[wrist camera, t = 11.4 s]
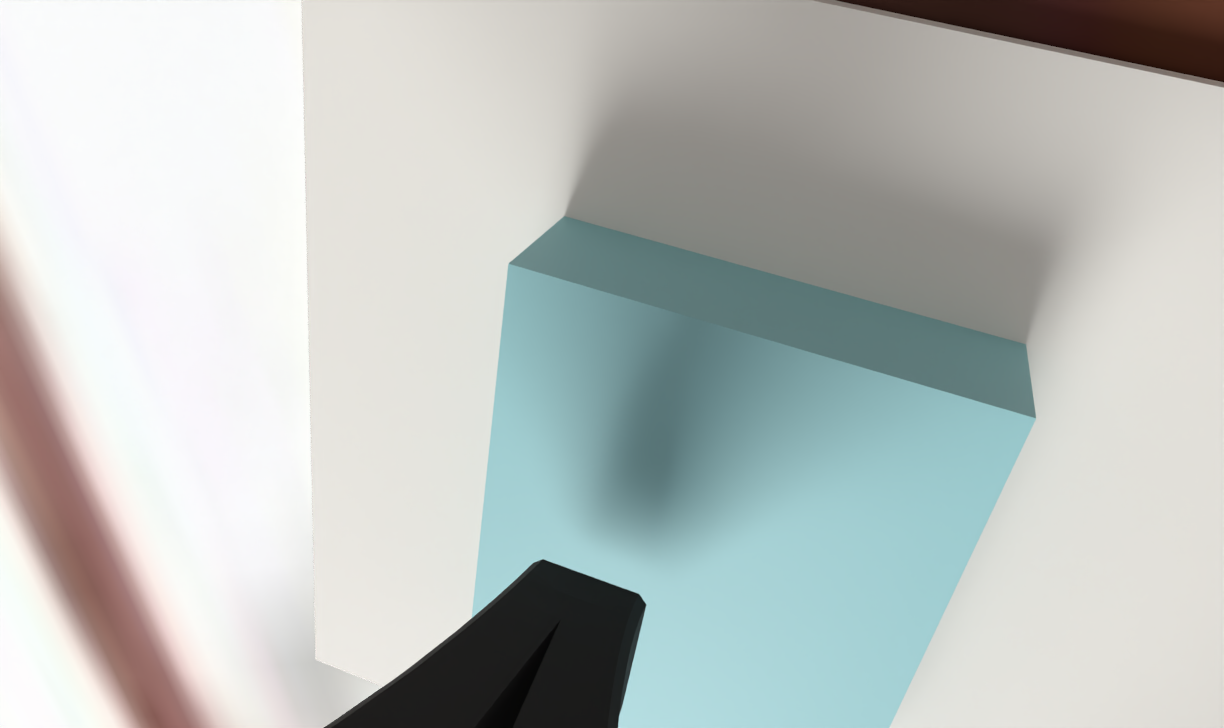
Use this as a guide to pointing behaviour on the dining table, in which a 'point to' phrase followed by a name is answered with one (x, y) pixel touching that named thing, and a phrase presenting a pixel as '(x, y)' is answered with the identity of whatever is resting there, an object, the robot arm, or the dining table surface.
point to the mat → (796, 249)
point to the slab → (743, 472)
